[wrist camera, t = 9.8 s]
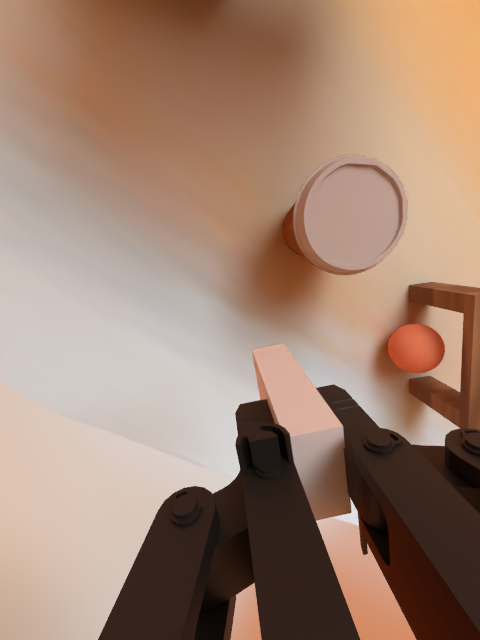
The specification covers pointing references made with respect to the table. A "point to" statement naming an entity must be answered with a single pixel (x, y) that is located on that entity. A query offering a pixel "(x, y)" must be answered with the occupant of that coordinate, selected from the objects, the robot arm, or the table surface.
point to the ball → (416, 348)
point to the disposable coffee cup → (347, 215)
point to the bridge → (476, 373)
